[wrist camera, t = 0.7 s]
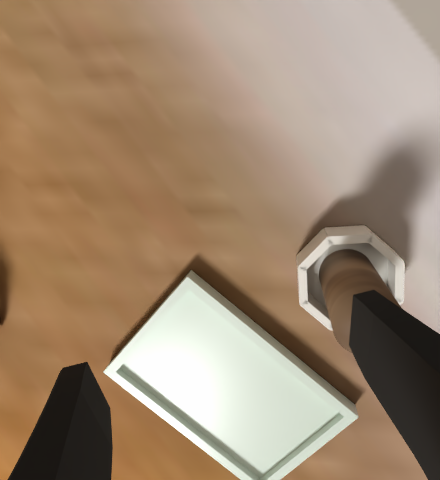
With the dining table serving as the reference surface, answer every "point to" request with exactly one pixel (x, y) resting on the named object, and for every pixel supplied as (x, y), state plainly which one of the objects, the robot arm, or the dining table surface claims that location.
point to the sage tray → (229, 384)
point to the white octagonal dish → (338, 239)
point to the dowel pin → (347, 288)
